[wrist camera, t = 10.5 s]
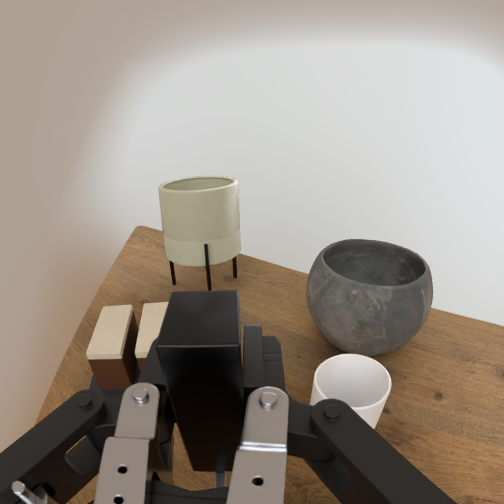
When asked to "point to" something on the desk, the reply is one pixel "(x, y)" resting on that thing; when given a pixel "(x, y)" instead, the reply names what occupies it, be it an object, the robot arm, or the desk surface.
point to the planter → (200, 222)
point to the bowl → (369, 295)
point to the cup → (353, 384)
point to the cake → (122, 346)
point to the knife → (205, 376)
